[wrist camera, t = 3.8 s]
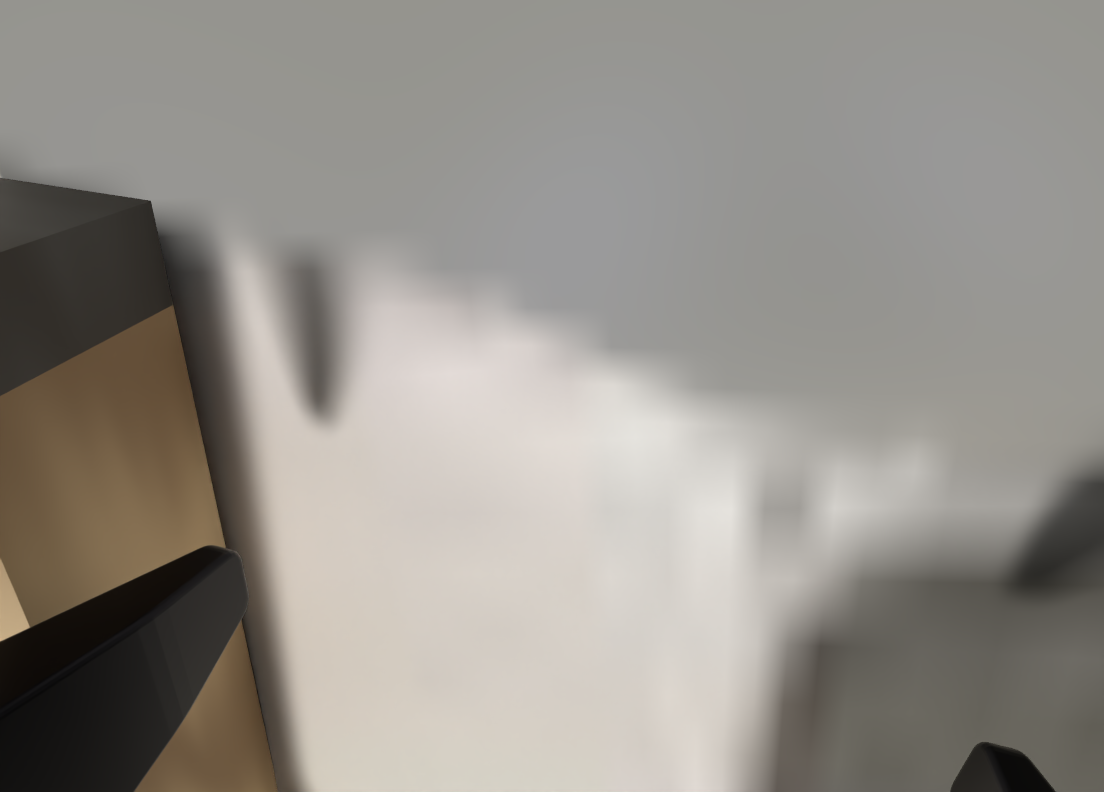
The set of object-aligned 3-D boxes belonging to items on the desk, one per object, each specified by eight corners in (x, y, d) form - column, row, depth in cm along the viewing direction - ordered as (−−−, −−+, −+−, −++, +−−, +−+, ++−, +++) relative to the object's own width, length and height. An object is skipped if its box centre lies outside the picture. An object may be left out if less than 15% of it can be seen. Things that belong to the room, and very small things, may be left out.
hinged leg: (313, 922, 18) (208, 1136, 15) (201, 882, 19) (75, 1079, 15) (164, 203, 9) (-200, 331, 6) (-44, 171, 10) (-485, 270, 6)
